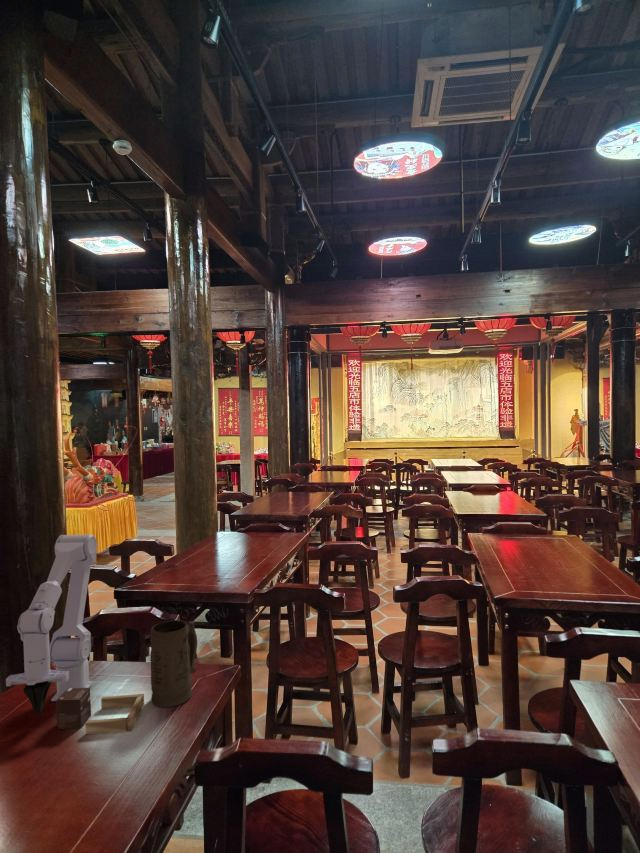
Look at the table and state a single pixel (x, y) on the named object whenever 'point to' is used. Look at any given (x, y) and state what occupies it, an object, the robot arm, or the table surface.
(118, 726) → the slot rails
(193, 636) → the beer stein
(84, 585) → the robot arm
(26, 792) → the table surface
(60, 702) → the box
